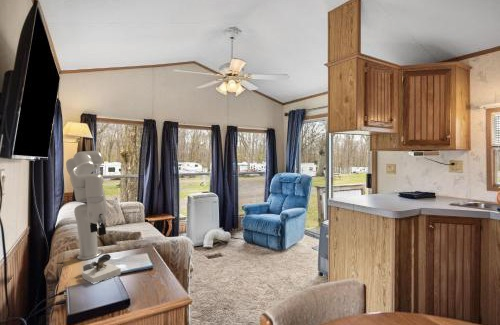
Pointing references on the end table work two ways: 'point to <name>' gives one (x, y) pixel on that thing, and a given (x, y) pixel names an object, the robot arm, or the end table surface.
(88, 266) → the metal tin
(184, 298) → the end table surface
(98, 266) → the eagle figurine
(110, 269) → the white slab
